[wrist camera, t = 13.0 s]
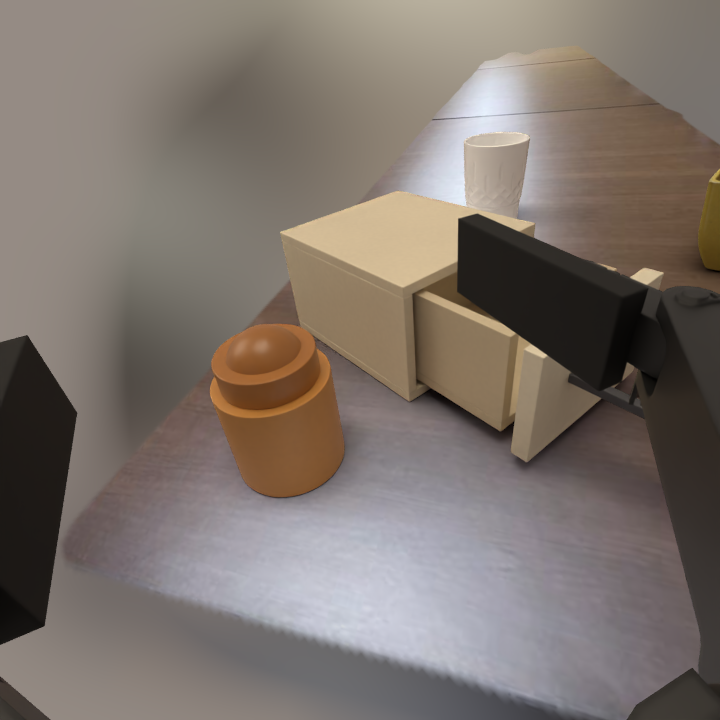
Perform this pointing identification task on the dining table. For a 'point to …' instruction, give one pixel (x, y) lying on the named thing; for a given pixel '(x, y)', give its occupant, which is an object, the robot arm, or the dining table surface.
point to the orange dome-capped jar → (278, 409)
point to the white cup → (495, 171)
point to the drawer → (502, 368)
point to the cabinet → (376, 277)
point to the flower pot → (711, 225)
